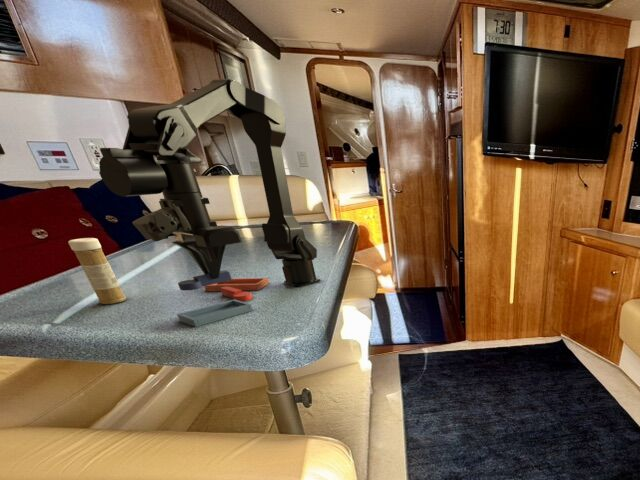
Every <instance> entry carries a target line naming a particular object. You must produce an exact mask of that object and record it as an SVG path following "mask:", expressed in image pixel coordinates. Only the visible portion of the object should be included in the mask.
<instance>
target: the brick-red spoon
mask: <svg viewBox="0 0 640 480" xmlns="http://www.w3.org/2000/svg"><path fill="white" fill-rule="evenodd" d="M220 289H221V291H220V292H221V295H222V296H223V297H228V298H232V299H233V300H238V301H241V302H247V301H250V300H252V299H253V295H252V293H251V292H249V291H243V290H239V289H235V288H232V287H228V286H226V287H221V288H220Z"/></svg>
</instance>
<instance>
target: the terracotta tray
mask: <svg viewBox="0 0 640 480" xmlns="http://www.w3.org/2000/svg"><path fill="white" fill-rule="evenodd" d="M231 279H232V280H229V281H225V282H221V283H216V284H212V285H207V286H203V287H204V289H205V292H221V289H220V288H221V287H226V286H228V287H232V288H235V289H239V290H241V291H260V290H261V289H262V288H264V287H266V286H267V285H269V284H270V282H269V279H268V277H252V278H251V277H246V278H245V277H244V278H231Z"/></svg>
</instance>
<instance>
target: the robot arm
mask: <svg viewBox="0 0 640 480" xmlns="http://www.w3.org/2000/svg"><path fill="white" fill-rule="evenodd" d="M226 111H228V112H229V114H230V115H231V116H233V117H235V118H236V119H238V120H240V121H241V124H242V126H243V130H244V132H245V134H246V136H248V138H249V139H250V140H251V142H252V143H253V144H254V145H255V150H256V154H257V159H258V164H259V167H260V175H261V179H262V185H263V189H264V193H265V199H266V203H267V209H268V213H269V216H268V219H267V221H266V223H265V222H263V223H262V224H261V230H262V232H263V237H264V238H263V242H265V243H266V245H267V248H268V249H269V250H270V251H271V252H272V254H273V256H274V258H275V259H276V260H281V262H282V266H281V268H282V273H283V276H284V280H283V283H284V284H286V285H290V286H296V287H304V286H307V285H312V284H315V283H318V282H321V280H322V279H320V278H317V275H316V270H315V267H314V263H313V260H315V259H317V257H318V250H317V248H316V247H315V246H314V245H313V244H312V243H310V241H309V240H308V239H307V238H306V236H305V232H304V229H303V226H302V225H301V224H300V223H299V221H298V220H297V219H296V217H295V216H294V211H293V207H292V201H291V196H290V190H289V185H288V178H287V174H286V173H287V172H286V167H285V162H284V156H283V152H282V146H283V144H284V140H285V138H286V135H287V129H286V116H285V113H284V110H283V108H282V107H280V105H279V103H278V102H276V101H275V100H274V99H272V98H269V97H267V96H266V95H264V94H262V93H260V92H258V91H255V90H253V89H251V88H249V87H246V86H245V85H243V84H242V83H240V82H239V81H237V80H235V79H234V78H216V79H212V80H211V81H210V82H209V83H208V84H206V85H204V86H202V87H200V88H198V89H196V90H194V91H192V92H190V93H188V94H186V95H184V96H183V97H181V98H179V99H176V100H175V101H173V102H170V103H167V104H159V105H151V106H146V107H141V108H136V109H132V110H131V111H130V112H128V114H127V116H126V117H127V120H128V121H127V122H128V128H127V132H126V136H125V139H124V142H123V146H122V148H118V147H100V148H99V151H100V153H101V155H102V157H100V159H99V164H98V165H99V171H98V174H99V176H100V178H101V180H102V182H103V183H104V184H105V186H106V187H107V188H108V189H109V191H111V192H112V193H113V194H115V195H117V196H119V197H122V198H123V197H124V198H125V197H137V196H148V195H150V196H151V195H159V194H162V197H163V198H159V201H158V204H159V206H160V208H159V209H157V210H154V211H151V212H149V213H148V214H146V215H143V216H141V217H139V218H137V219H135V220H133V221H132V225H133V226H134V227H135V228H136V229H137V231H139V233H140V234H141V235H142V236H143V237H144V238H145V239H146V240H147V241H149V240H151V241H153V242H160V241H162V240H167V239H169V237H174V238H175V241H172V242H171V243H172V244H173V245H175V246H177V247H179V248H181V249H183V250H185V251H187V253H188V254H189V256H191V258H192V259H193V261H194V262H195V263H196V265H197V266H198V267H199V269H200V270H201V271H202V273H203V275H204V274H210V276H211V277H212V279H216V278H219V274H220V271H221V268H222V262H223V258H224V254H225V249H226V247H227V245H235V244H240V243H242V242H243V241H242V238H241V234H240V232H239V230H238V229H236V228H234V227H233V226H228V225H218V224H217V221H215V220H211V217H210V215H209V211H208V208H207V205H210V204H211V203H210V200H209V197H203V194H202V191H201V188H200V185H199V182H198V179H197V176H196V173H195V170H194V167H193V164H202V163H203V161H202V159H201V158H200V157H198V156H197V155H196V154H194V153H192V152H191V150H189V148H187V147H188V146H189V145H190V144H191V143H192V141H193V140H194V139H195V138H197V137H196V136H197V130H198V129H199V128H200V127H201V126H203V125H204V124H206V123H207V122H209V121H211V120H213V119H214V118H216V117H218V116H220V115H221V114H223V113H224V112H226Z"/></svg>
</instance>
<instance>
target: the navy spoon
mask: <svg viewBox="0 0 640 480" xmlns="http://www.w3.org/2000/svg"><path fill="white" fill-rule="evenodd" d="M192 278H193V279H185V280H182V281H179V282H177V285H178V287H179V290H180V291H193V290H199V289H201V288H202V287H204V286H207V285H212V284H216V283H221V282H225V281H229V280H232V279H233V278H232V276H231V273H230V271H229V270H220V274H219V278H216V279H212V277H211V276H210V274H204V273H203V274H199V275H194V276H192Z"/></svg>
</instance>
